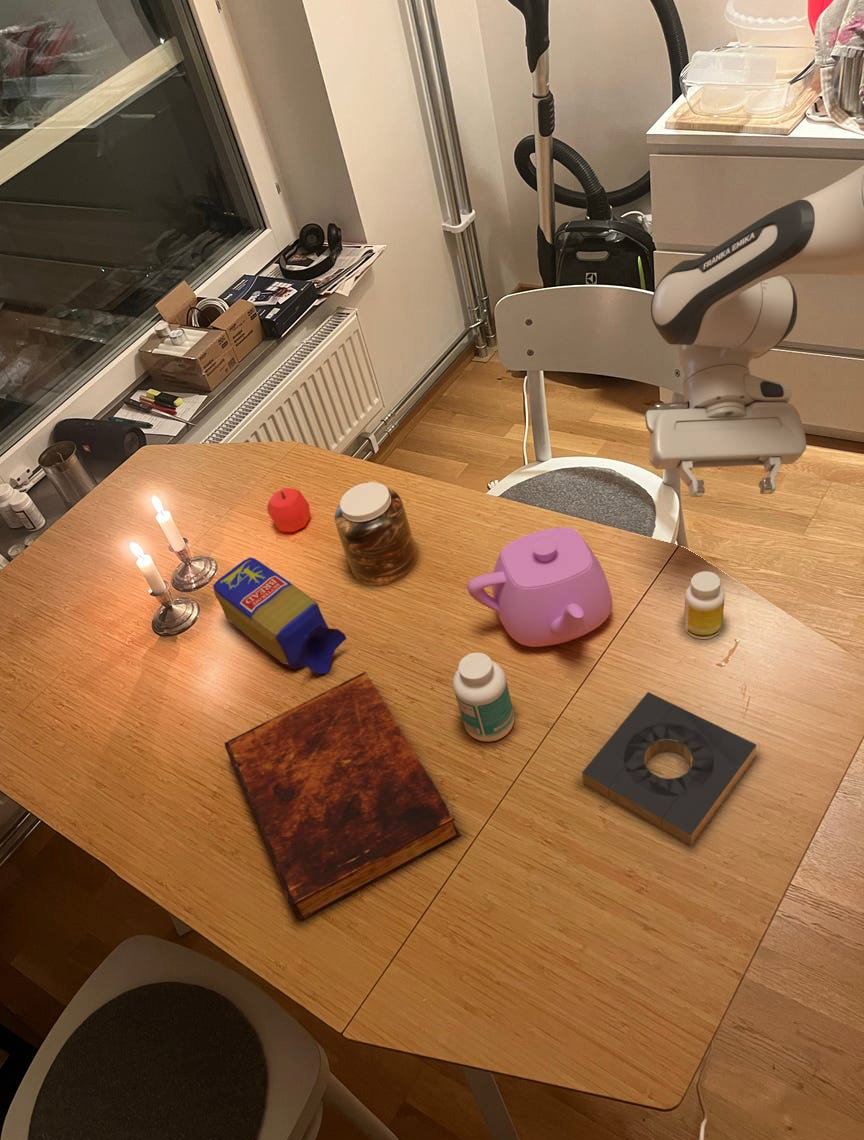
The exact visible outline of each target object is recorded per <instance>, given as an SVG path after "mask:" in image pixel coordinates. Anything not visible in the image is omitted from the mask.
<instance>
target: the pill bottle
mask: <svg viewBox="0 0 864 1140" xmlns="http://www.w3.org/2000/svg"><path fill="white" fill-rule="evenodd" d="M457 668H458V669H457V670H456V672H455V673H454V675H453V679H452V687H453V692H454V694H455V696H454V697H455V699H456V702H457V705H458V708H459V712H460V716H461V719H462V722H463V726H464V728H465V730H466V732H467V734H468V735H469V736H470V737H471V738H473V739H475V740H477V741H480V742H494V741H495V742H496V741H498V740H500V739H502V738H504V737H506V736H507V735H508V734H509V733H510V731H511V730H512V729H513V726H514V724H515V712H514V708H513V704H512V699H511V693H510V691H509V686H508V681H507V676H506V674H505V670H504V669H503V668H502V667H501V665H499V664H498V663H497V662H495V661H493V660H492V659H491V657H490V656H489V655H487V654H486V653H482V652H471V653H469V654H467V655H465V656H464V657H462V658H461V659H460V661H459V662H458V666H457Z"/></svg>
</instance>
